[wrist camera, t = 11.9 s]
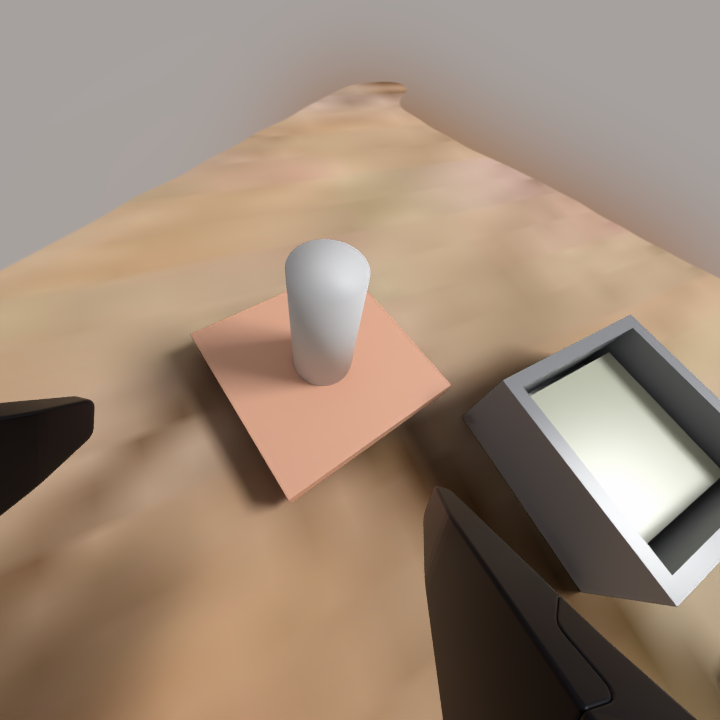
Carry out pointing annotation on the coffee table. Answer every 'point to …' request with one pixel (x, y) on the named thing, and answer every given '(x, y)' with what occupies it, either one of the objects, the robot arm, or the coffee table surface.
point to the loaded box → (613, 462)
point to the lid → (318, 367)
